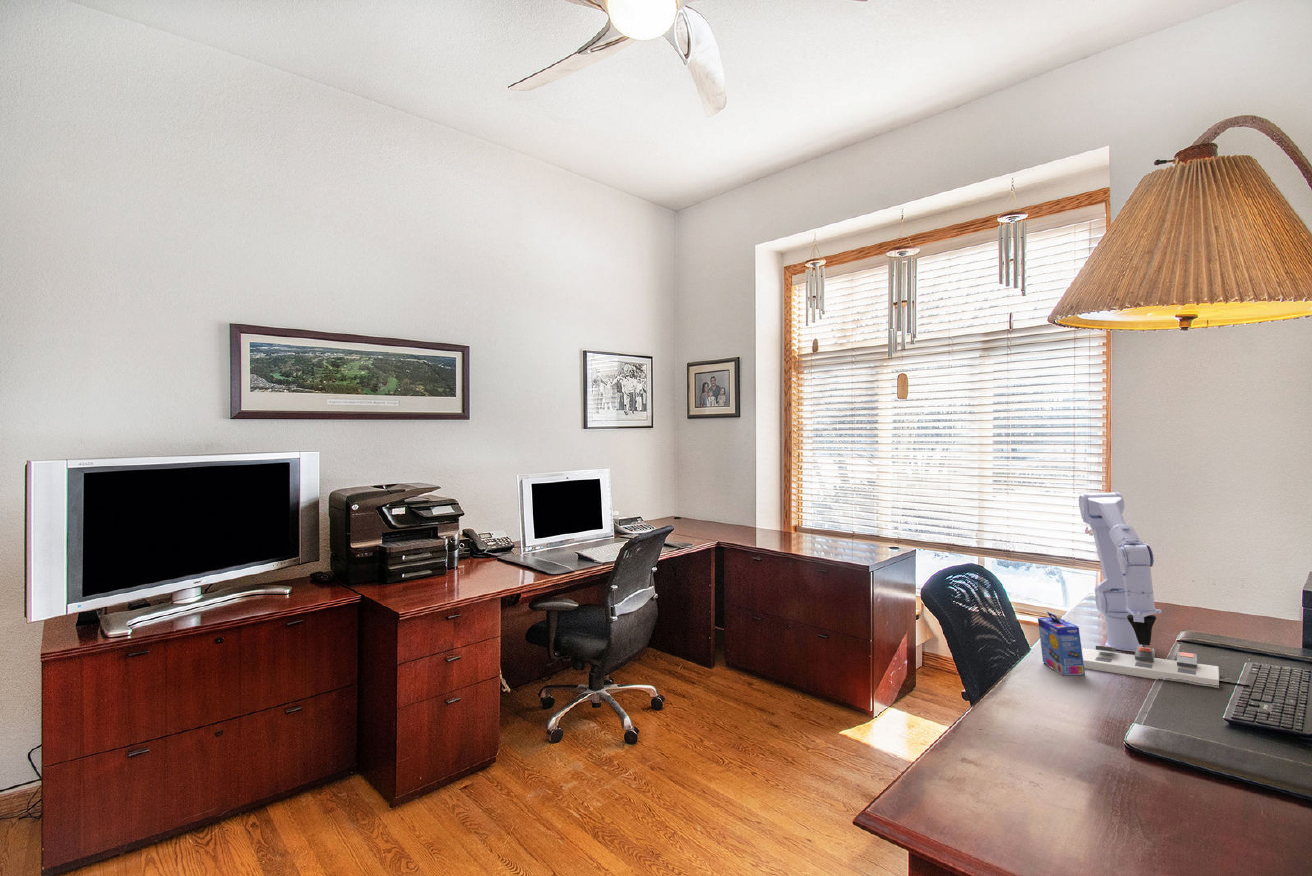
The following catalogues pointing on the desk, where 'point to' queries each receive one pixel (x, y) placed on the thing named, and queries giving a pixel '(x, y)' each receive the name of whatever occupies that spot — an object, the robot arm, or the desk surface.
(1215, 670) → the power strip
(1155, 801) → the desk surface
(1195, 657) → the block
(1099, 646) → the rocker far end
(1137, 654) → the rocker middle
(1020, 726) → the desk surface
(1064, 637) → the ink cartridge box
